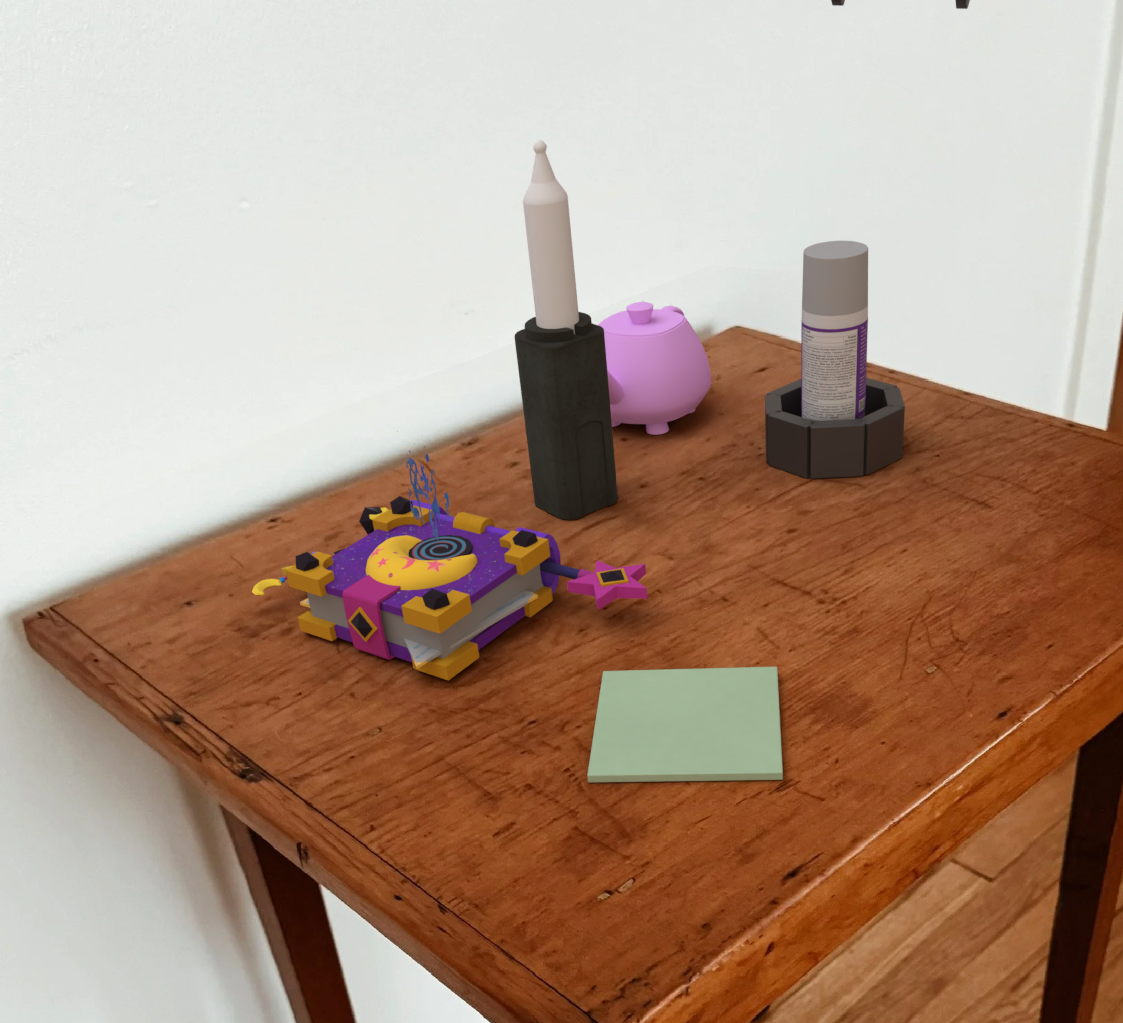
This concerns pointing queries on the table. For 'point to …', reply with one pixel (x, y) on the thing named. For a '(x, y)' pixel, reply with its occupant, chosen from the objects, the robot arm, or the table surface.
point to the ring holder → (834, 434)
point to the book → (437, 583)
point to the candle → (562, 366)
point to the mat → (687, 726)
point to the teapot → (653, 366)
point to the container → (834, 331)
